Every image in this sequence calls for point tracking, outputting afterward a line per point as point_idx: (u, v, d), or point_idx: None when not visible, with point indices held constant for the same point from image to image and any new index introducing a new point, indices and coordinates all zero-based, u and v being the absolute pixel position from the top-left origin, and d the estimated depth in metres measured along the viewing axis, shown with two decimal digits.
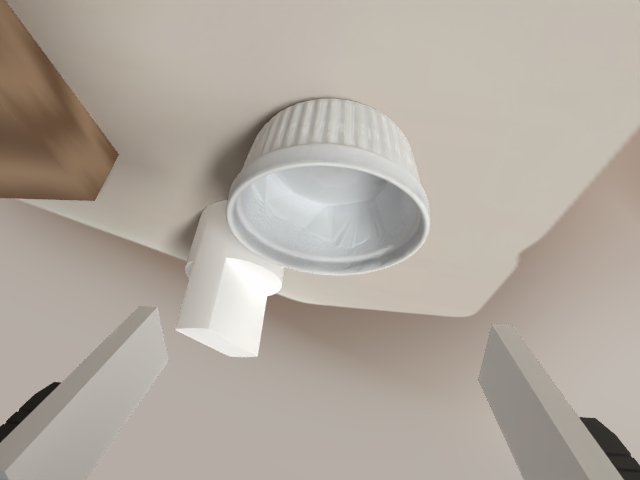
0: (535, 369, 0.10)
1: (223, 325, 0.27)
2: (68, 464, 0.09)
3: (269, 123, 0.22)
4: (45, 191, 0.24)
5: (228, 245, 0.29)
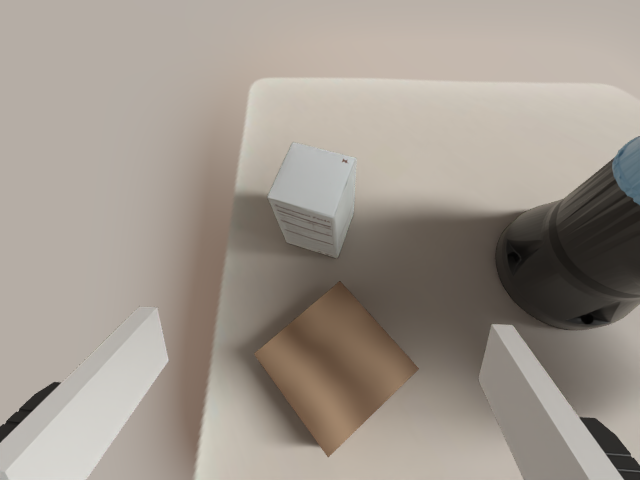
0: (535, 369, 0.10)
1: None
2: (68, 464, 0.09)
3: None
4: (314, 421, 0.33)
5: None
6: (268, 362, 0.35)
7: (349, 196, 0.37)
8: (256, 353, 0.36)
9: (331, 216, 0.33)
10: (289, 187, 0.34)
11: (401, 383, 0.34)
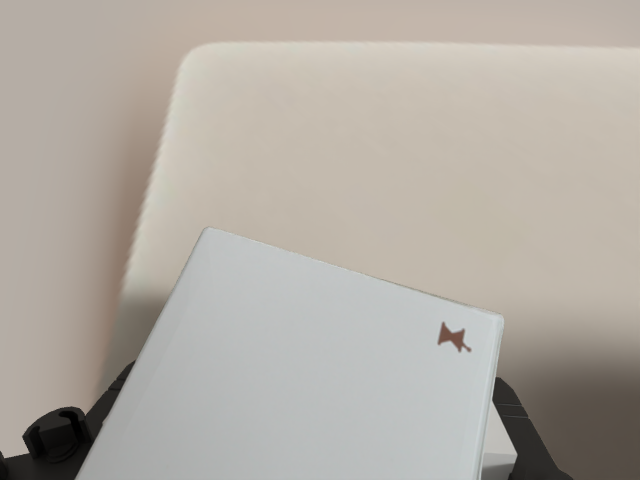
0: None
1: None
2: None
3: None
4: None
5: None
6: None
7: None
8: None
9: None
10: None
11: None
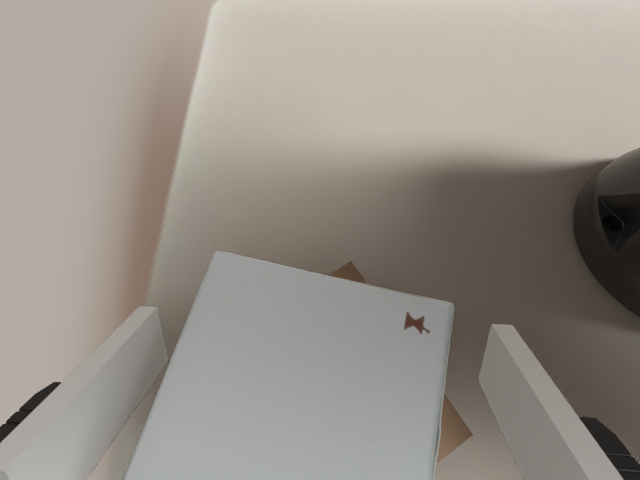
0: (535, 369, 0.10)
1: None
2: (68, 464, 0.09)
3: None
4: None
5: None
6: None
7: None
8: None
9: None
10: (199, 469, 0.08)
11: (437, 457, 0.18)
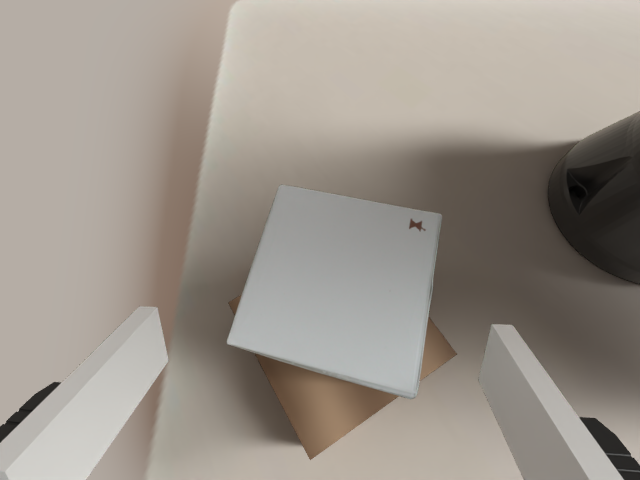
0: (535, 369, 0.10)
1: None
2: (68, 464, 0.09)
3: None
4: (297, 405, 0.23)
5: None
6: None
7: None
8: (231, 302, 0.26)
9: (408, 394, 0.12)
10: (282, 309, 0.13)
11: (429, 371, 0.23)
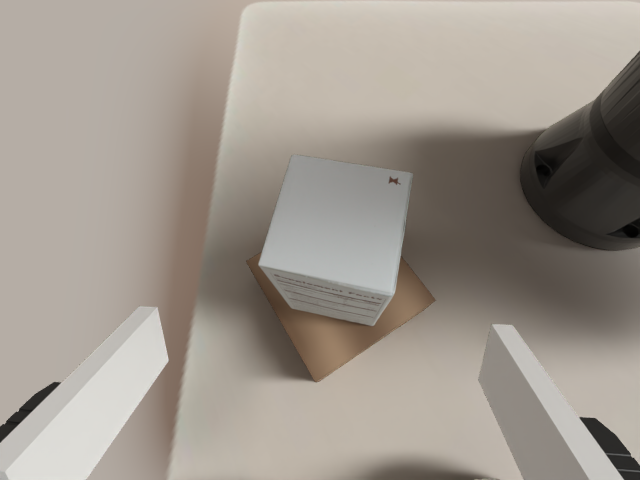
0: (535, 369, 0.10)
1: None
2: (68, 464, 0.09)
3: None
4: (304, 341, 0.28)
5: None
6: (261, 272, 0.31)
7: None
8: (249, 261, 0.31)
9: (388, 293, 0.17)
10: (298, 241, 0.18)
11: (412, 313, 0.28)
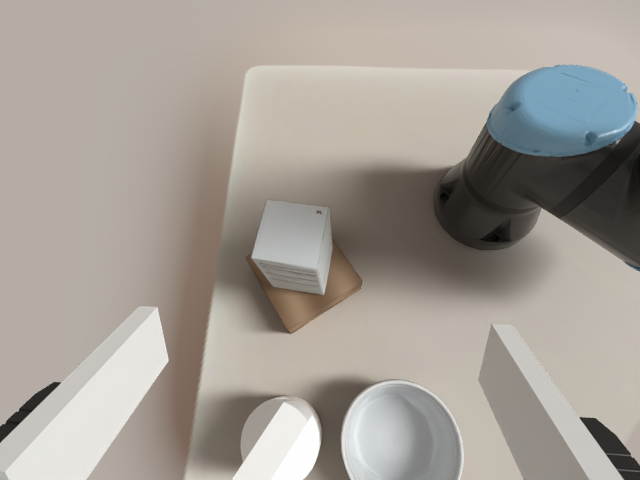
0: (535, 369, 0.10)
1: (298, 436, 0.34)
2: (68, 464, 0.09)
3: None
4: (281, 305, 0.46)
5: (312, 414, 0.40)
6: (255, 264, 0.48)
7: (327, 241, 0.39)
8: (247, 257, 0.49)
9: (314, 268, 0.35)
10: (270, 245, 0.36)
11: (347, 288, 0.46)
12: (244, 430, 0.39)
